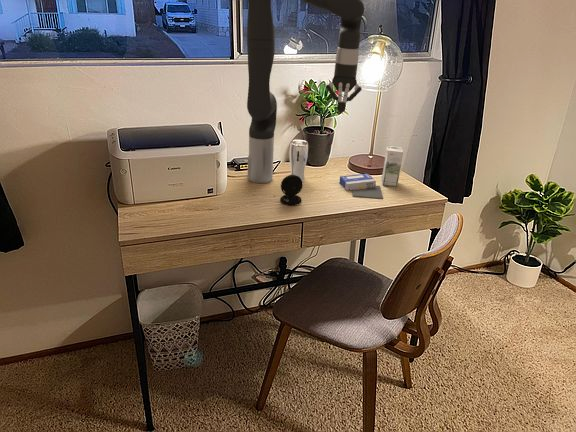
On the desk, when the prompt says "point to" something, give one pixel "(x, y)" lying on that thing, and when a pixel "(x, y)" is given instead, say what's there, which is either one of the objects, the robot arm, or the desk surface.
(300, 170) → the silver travel tumbler
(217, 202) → the desk surface
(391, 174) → the syrup box
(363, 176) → the blue and white box
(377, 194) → the mat
